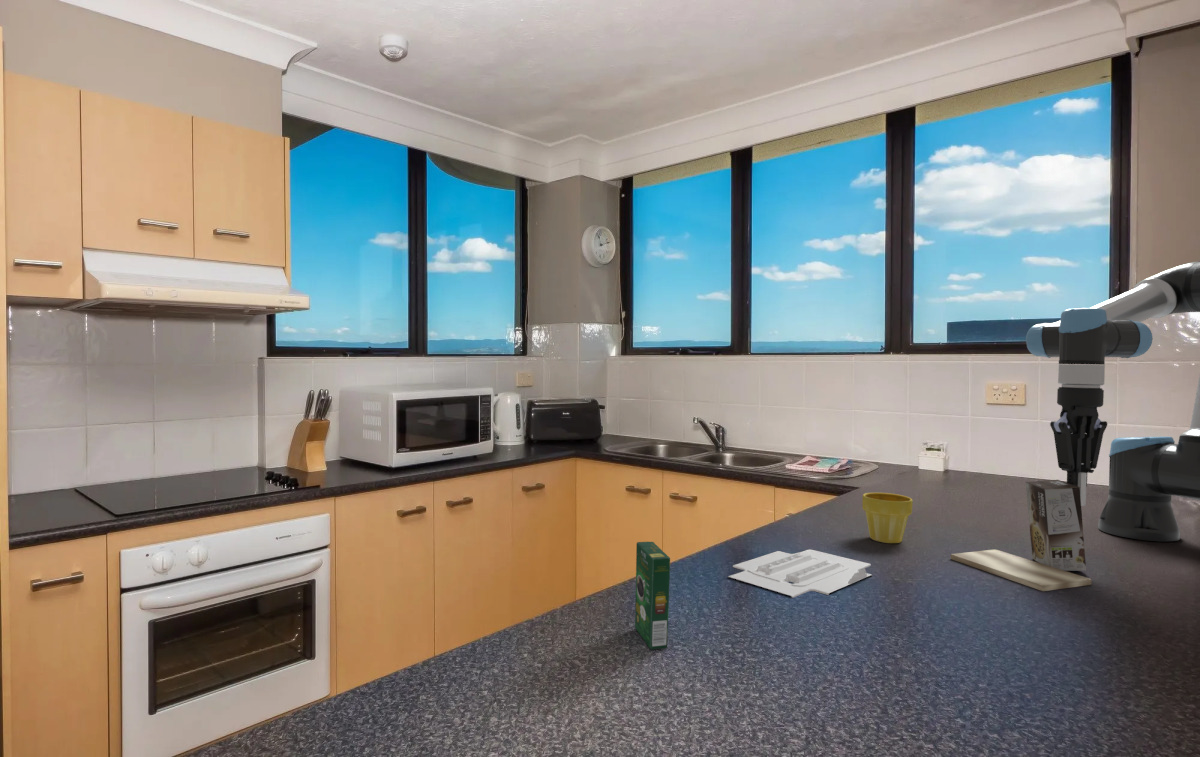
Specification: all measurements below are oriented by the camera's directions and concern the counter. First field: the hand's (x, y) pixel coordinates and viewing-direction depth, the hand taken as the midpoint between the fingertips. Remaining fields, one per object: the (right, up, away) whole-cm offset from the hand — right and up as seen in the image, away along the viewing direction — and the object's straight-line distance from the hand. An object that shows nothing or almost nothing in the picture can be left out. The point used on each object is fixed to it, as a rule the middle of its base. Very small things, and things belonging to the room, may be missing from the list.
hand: (1076, 504), depth 136 cm
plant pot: (-31, -11, +17) cm, 37 cm away
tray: (-57, -13, -6) cm, 58 cm away
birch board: (-15, -12, -5) cm, 19 cm away
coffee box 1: (-88, -13, -38) cm, 96 cm away
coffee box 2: (-4, -12, -1) cm, 13 cm away
